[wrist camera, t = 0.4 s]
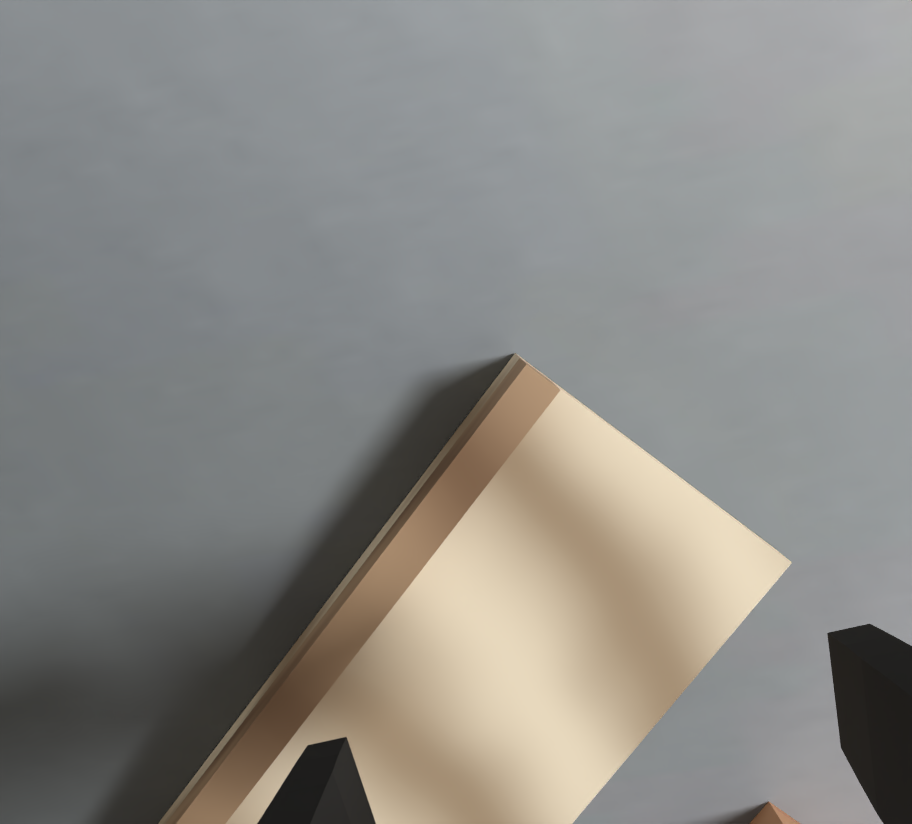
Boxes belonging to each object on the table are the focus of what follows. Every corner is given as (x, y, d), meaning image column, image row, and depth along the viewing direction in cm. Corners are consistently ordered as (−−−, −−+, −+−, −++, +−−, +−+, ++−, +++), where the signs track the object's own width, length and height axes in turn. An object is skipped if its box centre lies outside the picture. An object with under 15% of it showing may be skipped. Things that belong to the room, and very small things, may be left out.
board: (312, 1097, 25) (298, 1195, 22) (62, 949, 24) (15, 1033, 21) (773, 547, 22) (819, 584, 20) (515, 353, 21) (526, 364, 19)
